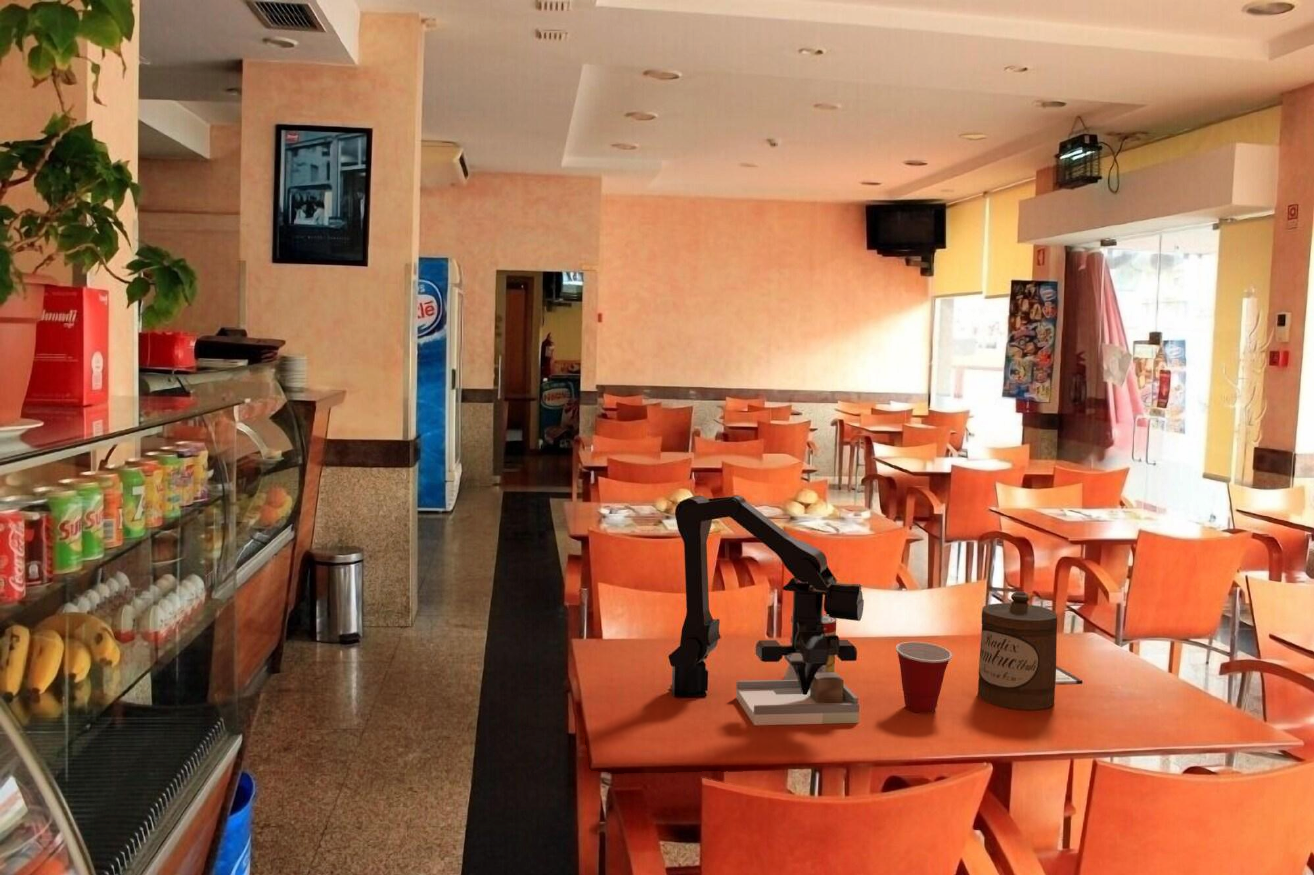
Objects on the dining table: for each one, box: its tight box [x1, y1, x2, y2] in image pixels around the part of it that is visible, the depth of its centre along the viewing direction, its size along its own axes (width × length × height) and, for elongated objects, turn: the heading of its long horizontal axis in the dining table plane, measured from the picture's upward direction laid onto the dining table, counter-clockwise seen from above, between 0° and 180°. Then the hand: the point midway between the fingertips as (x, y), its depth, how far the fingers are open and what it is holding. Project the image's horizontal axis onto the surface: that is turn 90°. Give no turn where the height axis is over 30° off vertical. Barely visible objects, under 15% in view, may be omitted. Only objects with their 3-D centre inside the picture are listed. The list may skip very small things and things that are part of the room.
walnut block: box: [810, 672, 845, 703], centre depth 218 cm, size 5×5×4 cm
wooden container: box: [977, 590, 1058, 711], centre depth 227 cm, size 15×15×22 cm
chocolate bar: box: [1055, 665, 1083, 685], centre depth 248 cm, size 9×1×18 cm
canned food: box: [816, 614, 838, 673], centre depth 242 cm, size 8×8×12 cm
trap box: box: [735, 679, 860, 726], centre depth 217 cm, size 20×16×4 cm
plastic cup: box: [895, 641, 953, 714], centre depth 219 cm, size 11×11×12 cm
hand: (804, 694), depth 217 cm, fingers closed
